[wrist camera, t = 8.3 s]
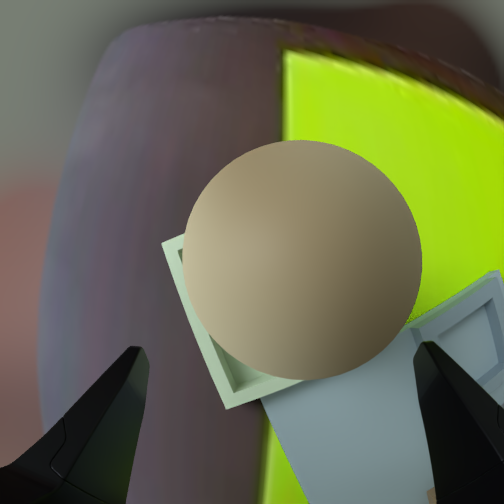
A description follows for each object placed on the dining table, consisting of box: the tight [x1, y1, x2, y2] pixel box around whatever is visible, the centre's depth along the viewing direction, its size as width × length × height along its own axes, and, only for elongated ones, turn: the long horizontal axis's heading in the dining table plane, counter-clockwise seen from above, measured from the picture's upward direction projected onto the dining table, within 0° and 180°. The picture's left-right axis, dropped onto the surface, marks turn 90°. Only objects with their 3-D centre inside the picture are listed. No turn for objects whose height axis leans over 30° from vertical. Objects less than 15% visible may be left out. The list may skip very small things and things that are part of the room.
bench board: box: [260, 270, 504, 504], centre depth 14 cm, size 18×17×4 cm
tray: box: [161, 234, 304, 409], centre depth 17 cm, size 9×9×2 cm
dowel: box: [182, 140, 422, 380], centre depth 11 cm, size 4×4×13 cm
